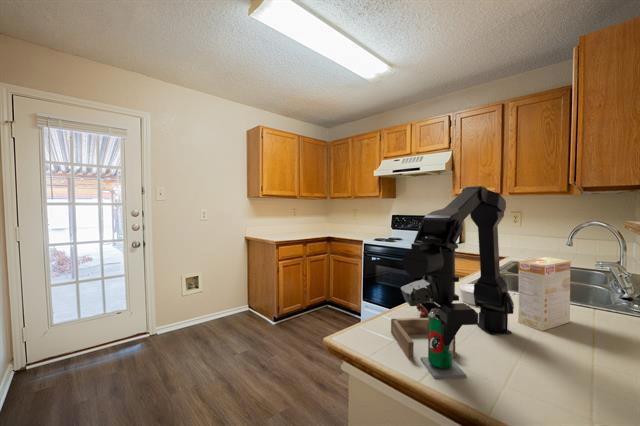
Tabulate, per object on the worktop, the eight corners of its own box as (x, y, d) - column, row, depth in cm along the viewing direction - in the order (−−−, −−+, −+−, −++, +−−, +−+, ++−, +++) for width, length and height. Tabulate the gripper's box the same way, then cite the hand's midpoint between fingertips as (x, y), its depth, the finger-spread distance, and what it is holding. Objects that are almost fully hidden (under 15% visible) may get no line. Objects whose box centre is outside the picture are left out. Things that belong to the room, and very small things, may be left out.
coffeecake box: (544, 314, 91) (545, 256, 91) (571, 322, 85) (572, 260, 84) (516, 322, 86) (517, 260, 85) (542, 331, 79) (543, 264, 79)
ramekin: (465, 306, 99) (465, 292, 99) (454, 296, 110) (454, 283, 110) (498, 308, 98) (499, 293, 97) (484, 297, 109) (484, 284, 108)
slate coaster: (449, 358, 65) (449, 356, 65) (466, 377, 58) (466, 374, 58) (420, 359, 65) (420, 357, 65) (434, 378, 58) (434, 375, 58)
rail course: (434, 331, 79) (434, 317, 79) (460, 357, 66) (460, 341, 66) (391, 332, 79) (391, 318, 79) (408, 358, 65) (408, 342, 65)
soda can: (455, 372, 58) (455, 317, 58) (430, 369, 59) (430, 315, 59) (449, 359, 63) (449, 308, 63) (426, 356, 64) (426, 306, 64)
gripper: (392, 262, 70) (392, 322, 70) (422, 282, 51) (422, 364, 52) (434, 261, 70) (434, 321, 71) (480, 281, 52) (479, 362, 52)
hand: (440, 339), depth 61 cm, fingers closed on soda can, 5 cm apart
